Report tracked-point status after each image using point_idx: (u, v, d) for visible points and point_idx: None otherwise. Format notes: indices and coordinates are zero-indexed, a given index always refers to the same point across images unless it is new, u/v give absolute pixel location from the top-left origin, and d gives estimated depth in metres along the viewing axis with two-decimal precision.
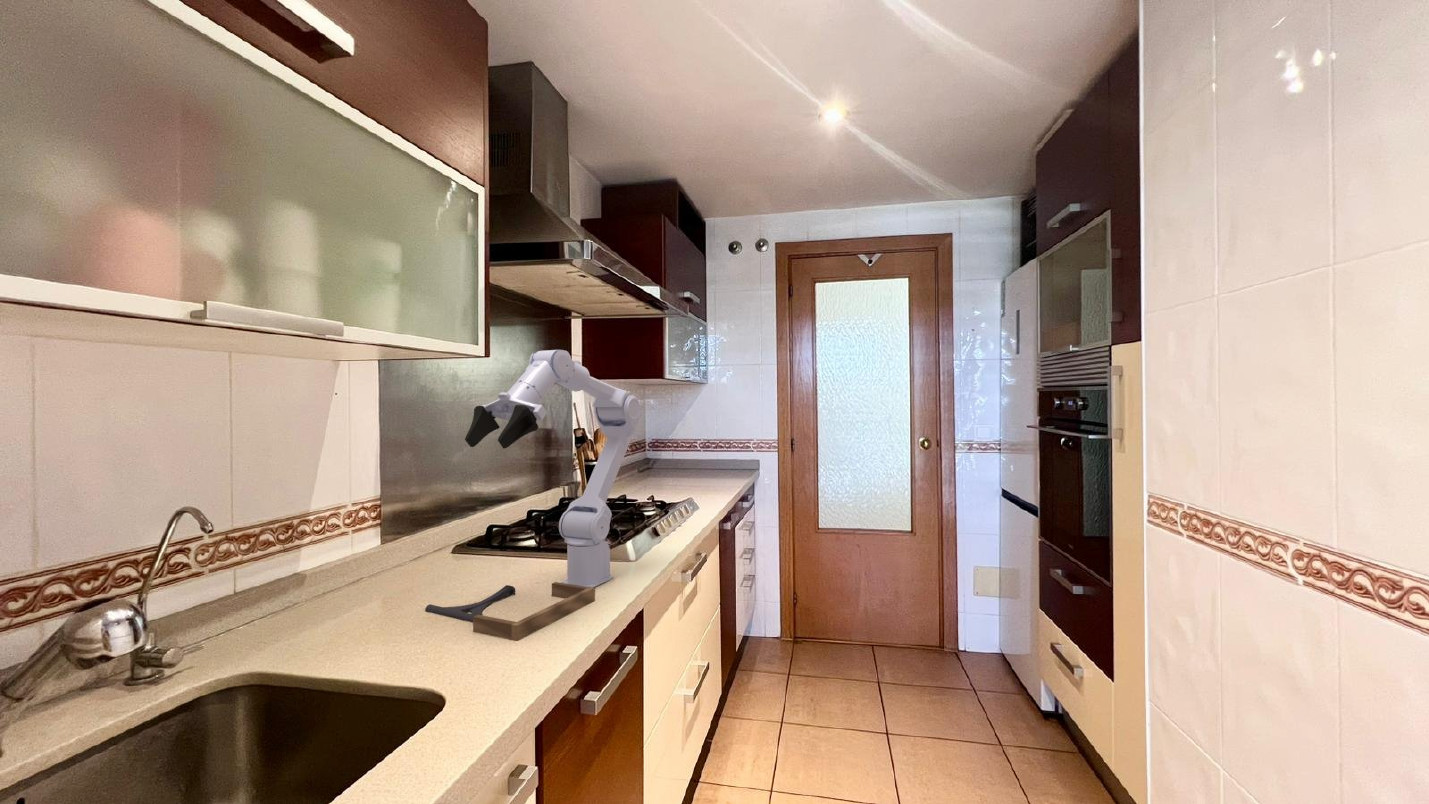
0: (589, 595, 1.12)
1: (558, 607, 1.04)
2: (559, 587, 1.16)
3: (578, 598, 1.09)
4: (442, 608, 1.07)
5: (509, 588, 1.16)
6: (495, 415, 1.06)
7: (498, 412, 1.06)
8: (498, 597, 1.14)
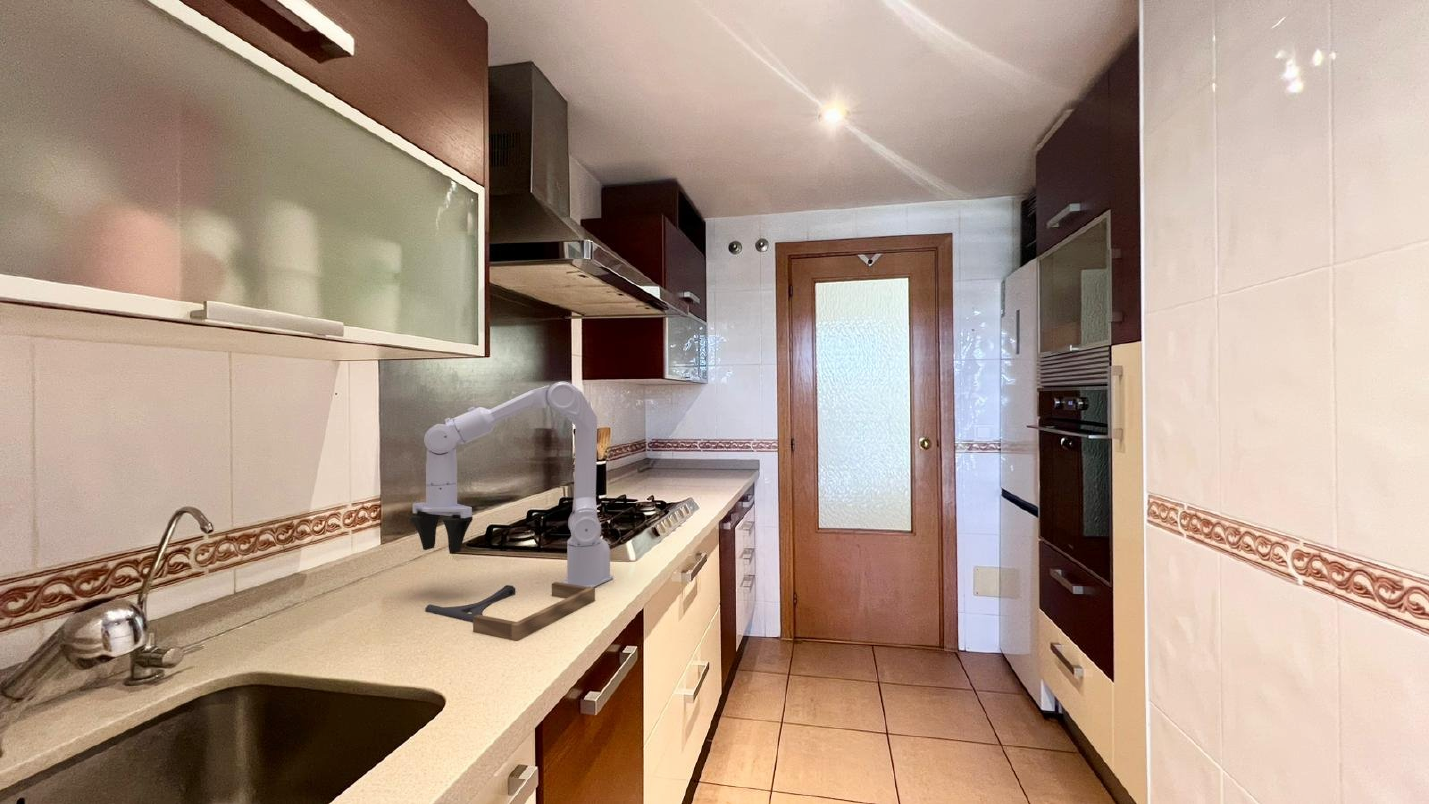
0: (589, 595, 1.12)
1: (558, 607, 1.04)
2: (559, 587, 1.16)
3: (578, 598, 1.09)
4: (442, 608, 1.07)
5: (509, 588, 1.16)
6: None
7: (431, 511, 1.17)
8: (498, 597, 1.14)
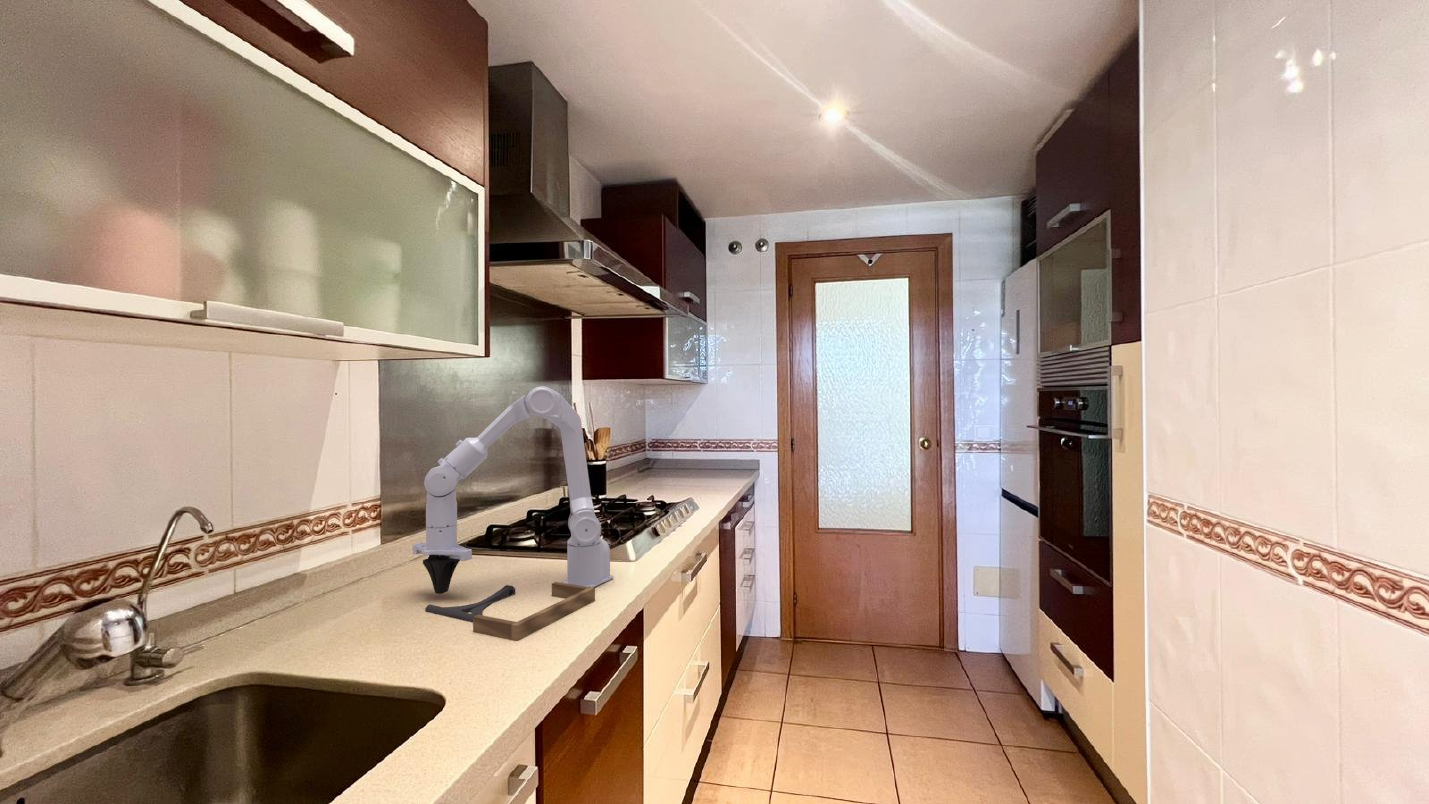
0: (589, 595, 1.12)
1: (558, 607, 1.04)
2: (559, 587, 1.16)
3: (578, 598, 1.09)
4: (442, 608, 1.07)
5: (509, 588, 1.16)
6: None
7: None
8: (498, 597, 1.14)
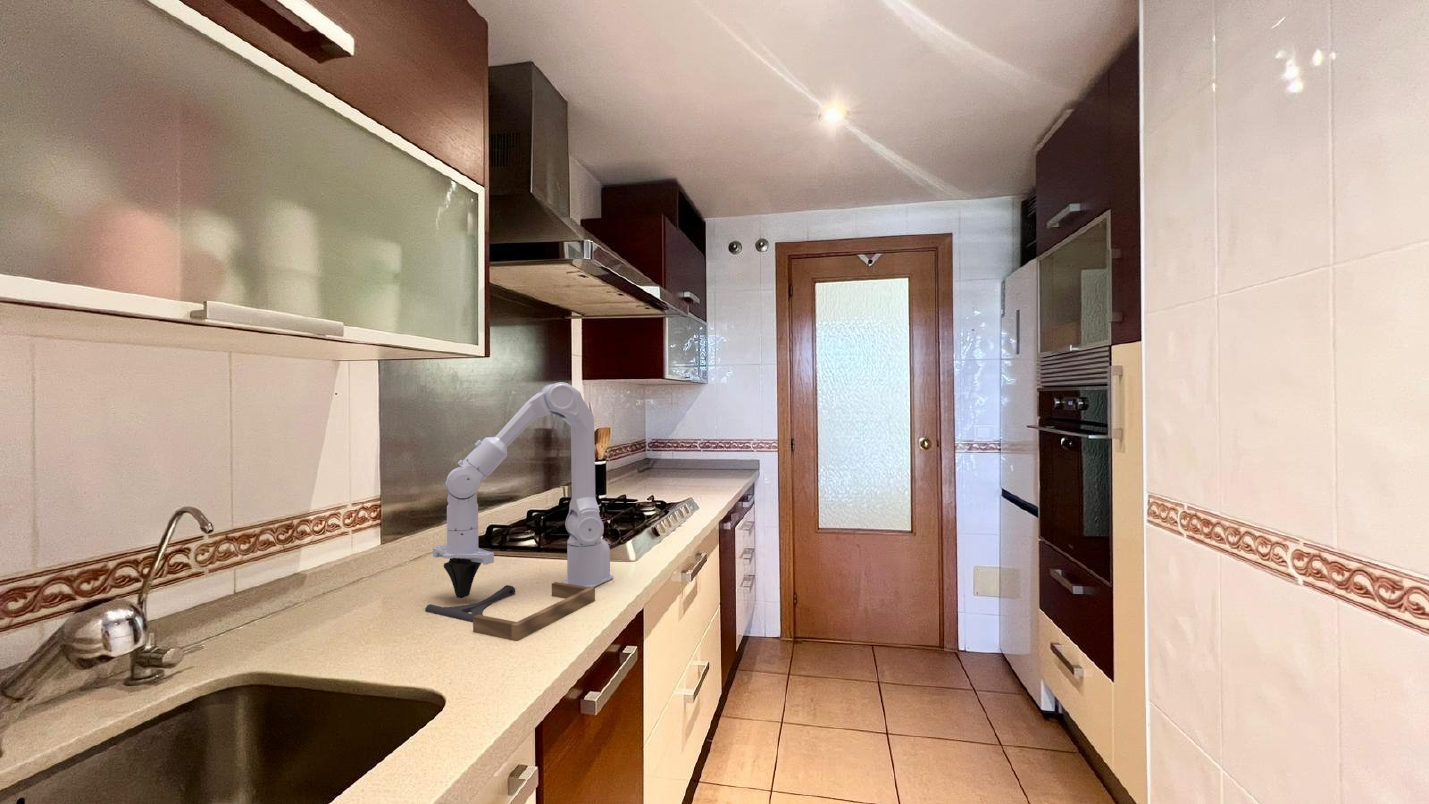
0: (589, 595, 1.12)
1: (558, 607, 1.04)
2: (559, 587, 1.16)
3: (578, 598, 1.09)
4: (442, 608, 1.07)
5: (509, 588, 1.16)
6: None
7: None
8: (498, 597, 1.14)
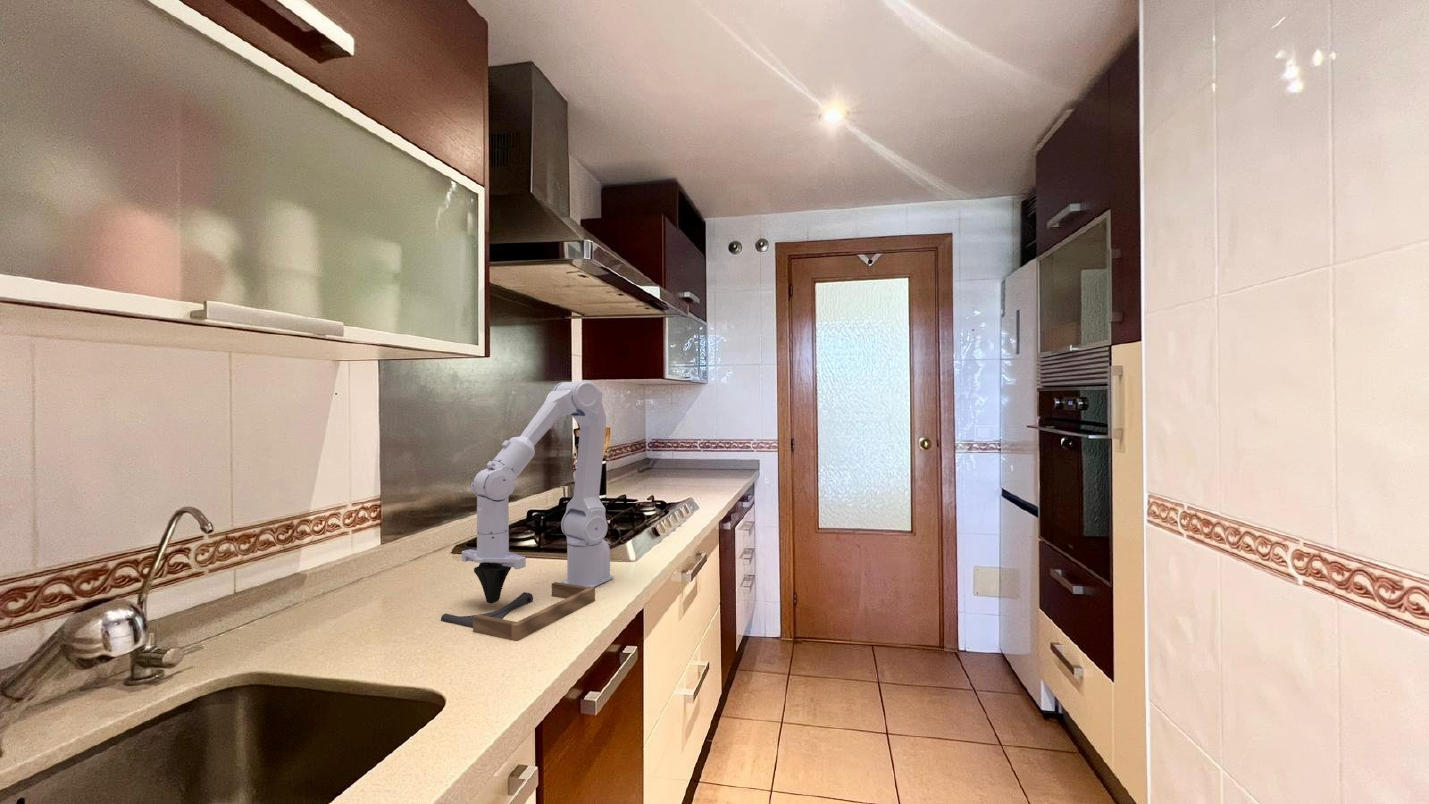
0: (589, 595, 1.12)
1: (558, 607, 1.04)
2: (559, 587, 1.16)
3: (578, 598, 1.09)
4: (459, 617, 1.02)
5: (527, 595, 1.12)
6: None
7: None
8: (516, 605, 1.09)
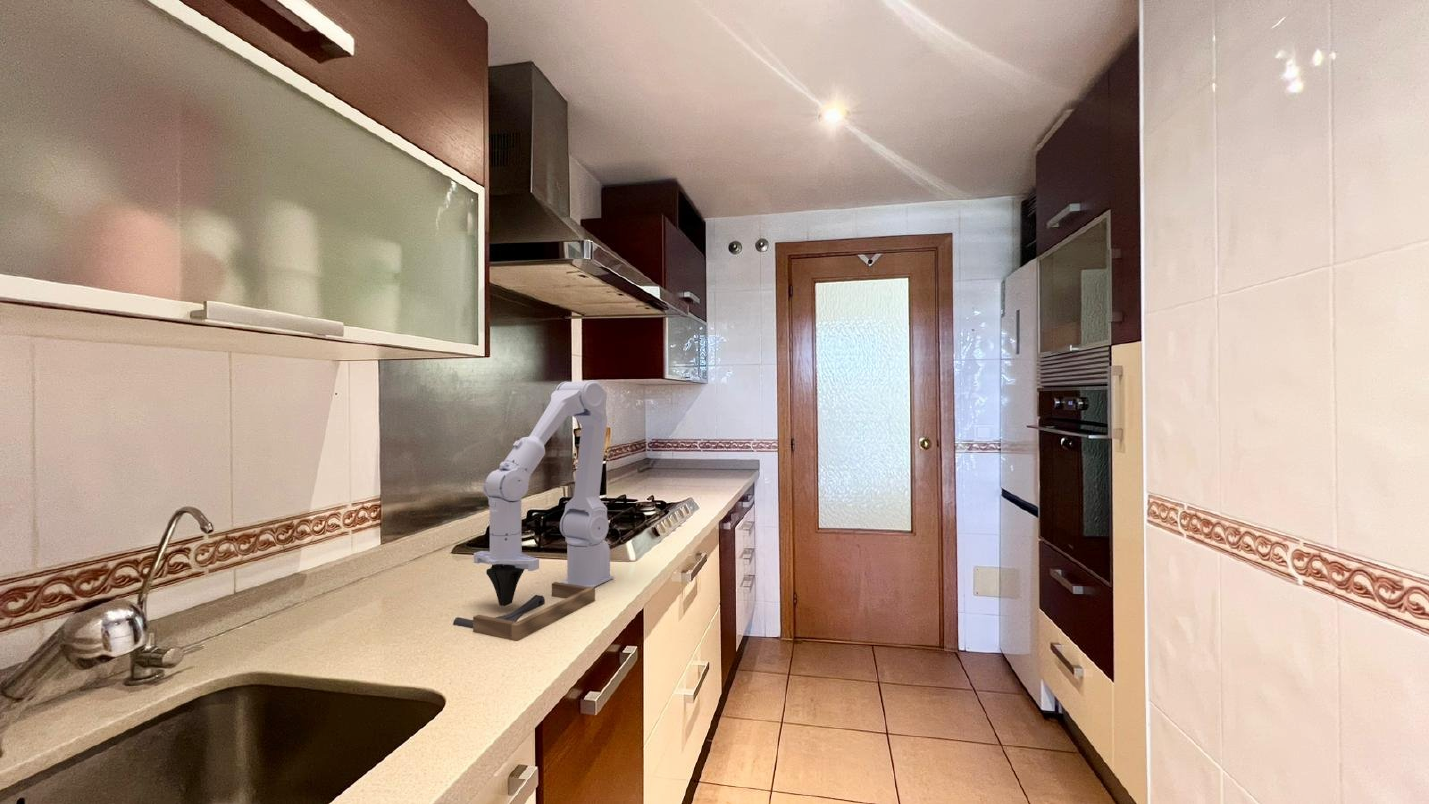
0: (589, 595, 1.12)
1: (558, 607, 1.04)
2: (559, 587, 1.16)
3: (578, 598, 1.09)
4: (472, 621, 1.00)
5: (539, 598, 1.10)
6: None
7: None
8: (528, 608, 1.08)
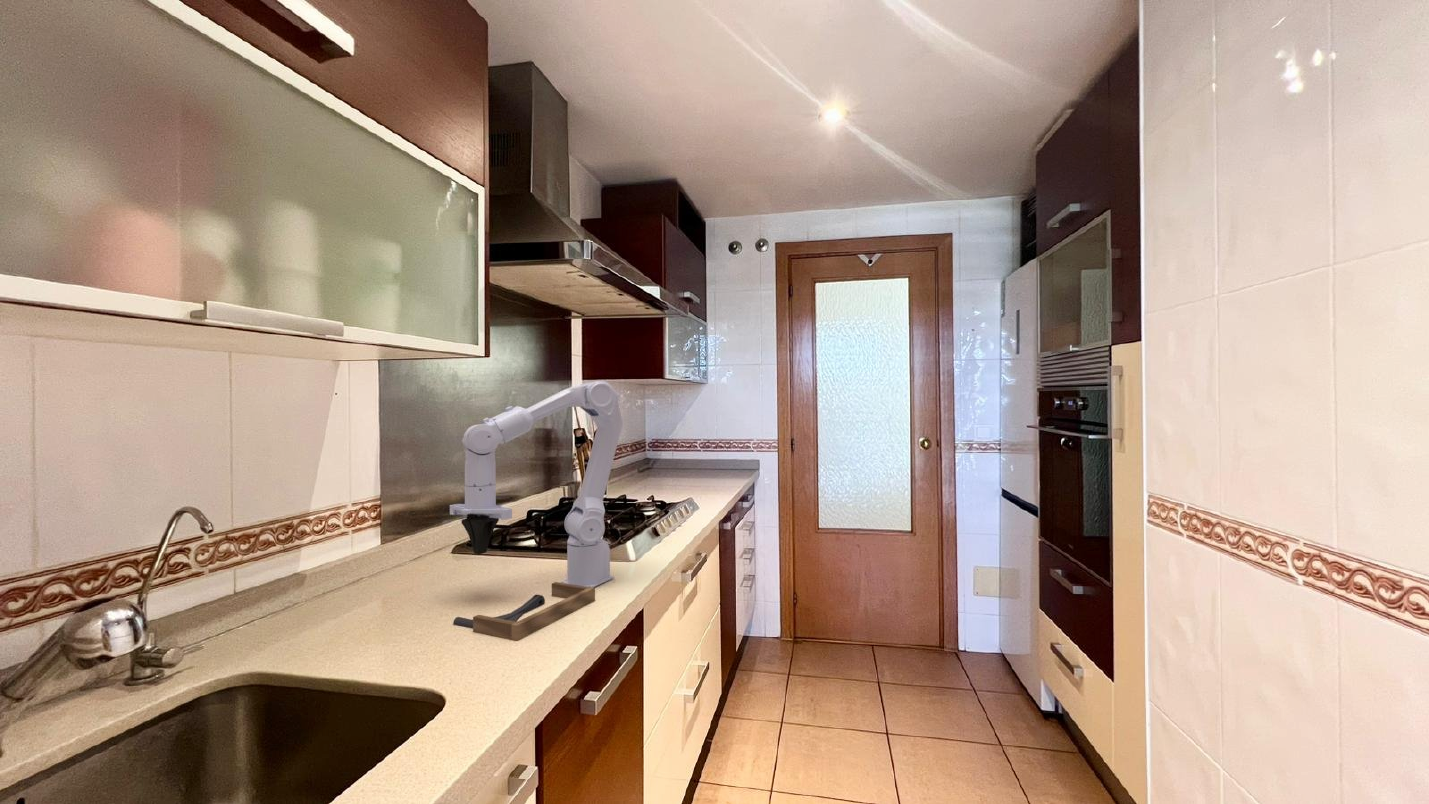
0: (589, 595, 1.12)
1: (558, 607, 1.04)
2: (559, 587, 1.16)
3: (578, 598, 1.09)
4: (472, 621, 1.00)
5: (539, 597, 1.10)
6: None
7: (469, 513, 1.15)
8: (528, 607, 1.08)
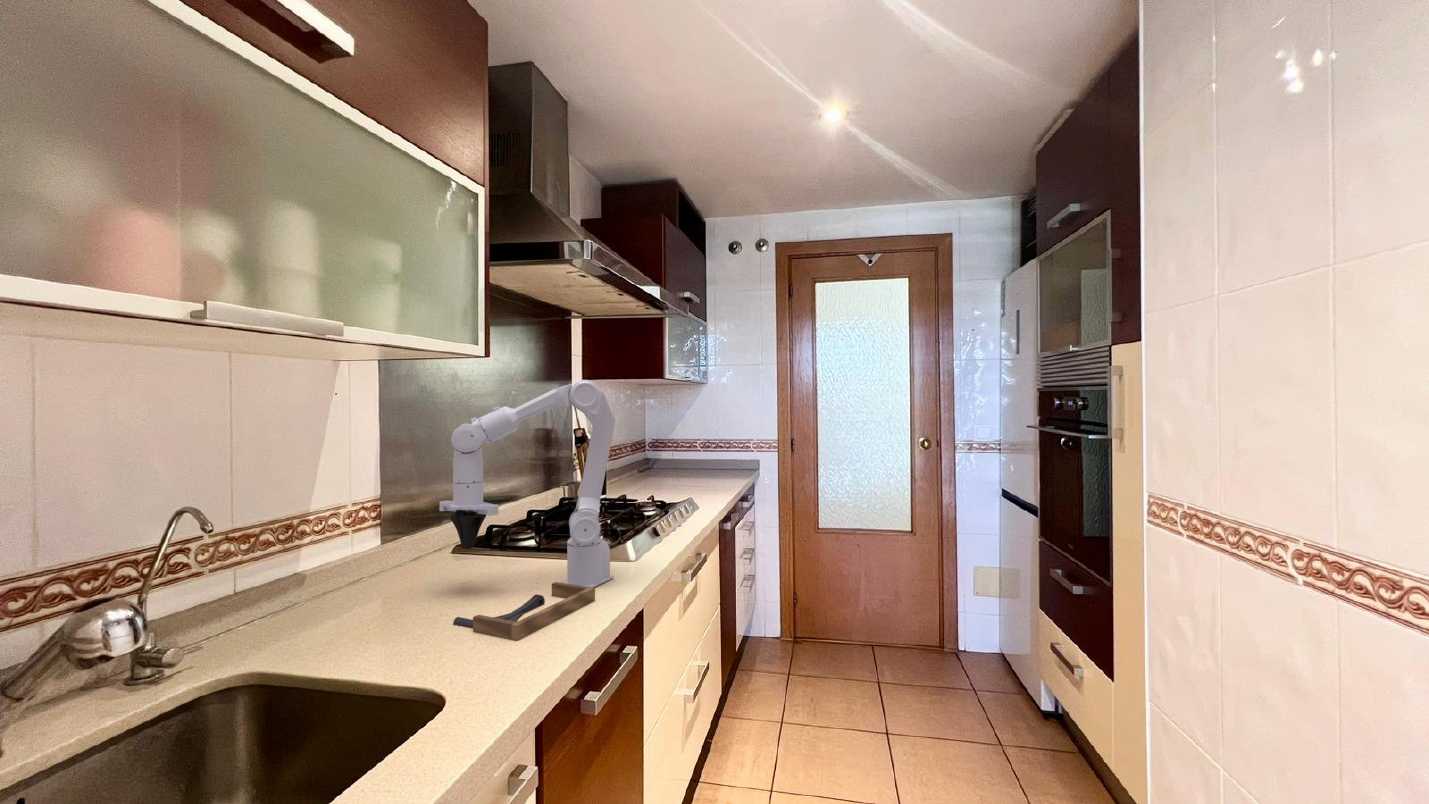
0: (589, 595, 1.12)
1: (558, 607, 1.04)
2: (559, 587, 1.16)
3: (578, 598, 1.09)
4: None
5: (539, 597, 1.10)
6: None
7: (458, 509, 1.19)
8: (528, 607, 1.08)
